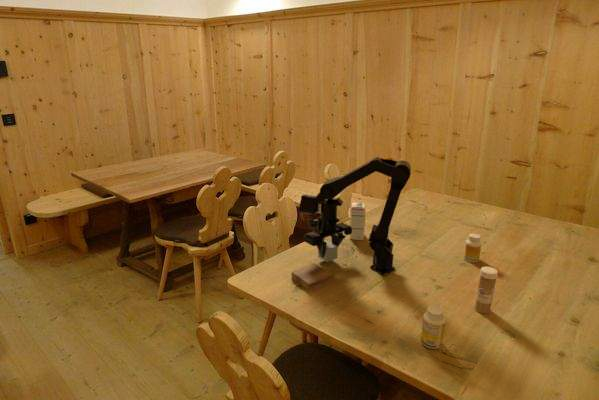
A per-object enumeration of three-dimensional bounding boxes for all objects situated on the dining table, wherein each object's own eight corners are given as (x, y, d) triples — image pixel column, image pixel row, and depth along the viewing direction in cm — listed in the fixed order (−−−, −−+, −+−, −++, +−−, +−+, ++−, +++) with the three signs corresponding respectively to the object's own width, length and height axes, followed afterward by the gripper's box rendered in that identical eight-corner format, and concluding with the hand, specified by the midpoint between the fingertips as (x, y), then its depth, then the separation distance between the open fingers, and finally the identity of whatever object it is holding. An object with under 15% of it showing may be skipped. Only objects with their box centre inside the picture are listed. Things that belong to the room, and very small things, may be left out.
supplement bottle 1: (435, 335, 110) (440, 302, 106) (446, 348, 104) (451, 314, 101) (416, 337, 109) (420, 304, 105) (426, 351, 103) (430, 317, 100)
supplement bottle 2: (480, 263, 148) (484, 239, 145) (464, 262, 149) (468, 238, 146) (477, 256, 153) (481, 233, 150) (462, 255, 154) (465, 232, 151)
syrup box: (363, 240, 167) (365, 207, 162) (349, 239, 168) (350, 206, 163) (364, 234, 172) (366, 202, 167) (350, 233, 173) (352, 201, 168)
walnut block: (332, 282, 136) (333, 274, 135) (309, 292, 130) (309, 284, 129) (314, 270, 144) (314, 263, 143) (291, 279, 138) (291, 271, 137)
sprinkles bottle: (472, 310, 120) (478, 270, 116) (477, 303, 124) (483, 264, 119) (488, 316, 118) (495, 275, 113) (492, 309, 121) (500, 269, 117)
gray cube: (337, 258, 149) (337, 245, 147) (326, 262, 146) (327, 249, 144) (328, 253, 152) (328, 241, 151) (318, 257, 149) (318, 244, 148)
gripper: (333, 204, 155) (332, 241, 160) (294, 214, 144) (294, 254, 149) (353, 212, 147) (352, 251, 152) (313, 224, 136) (313, 265, 141)
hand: (327, 255), depth 149 cm, fingers closed on gray cube, 5 cm apart
